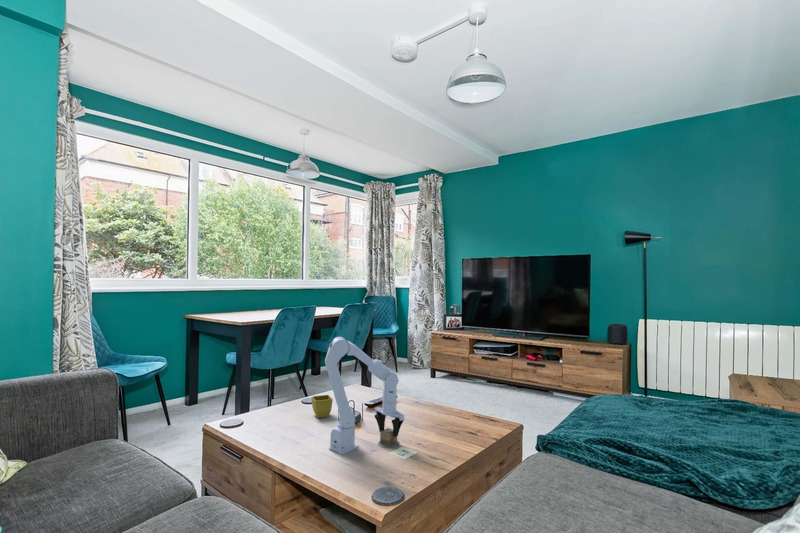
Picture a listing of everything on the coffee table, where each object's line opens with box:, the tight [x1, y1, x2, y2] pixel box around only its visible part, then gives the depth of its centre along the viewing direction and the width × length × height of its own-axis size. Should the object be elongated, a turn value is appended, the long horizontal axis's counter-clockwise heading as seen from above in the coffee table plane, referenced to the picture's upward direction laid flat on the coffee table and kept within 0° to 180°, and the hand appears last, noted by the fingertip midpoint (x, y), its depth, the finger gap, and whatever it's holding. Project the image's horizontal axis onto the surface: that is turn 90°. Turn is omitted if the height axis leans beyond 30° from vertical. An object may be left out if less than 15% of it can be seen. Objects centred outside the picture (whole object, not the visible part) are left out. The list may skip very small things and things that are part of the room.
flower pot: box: [311, 394, 333, 419], centre depth 197 cm, size 9×9×9 cm
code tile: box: [388, 446, 418, 460], centre depth 156 cm, size 8×8×1 cm
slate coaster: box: [377, 440, 401, 449], centre depth 165 cm, size 9×9×1 cm
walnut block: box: [379, 427, 398, 447], centre depth 165 cm, size 5×5×5 cm
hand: (388, 433), depth 165 cm, fingers open, 7 cm apart
